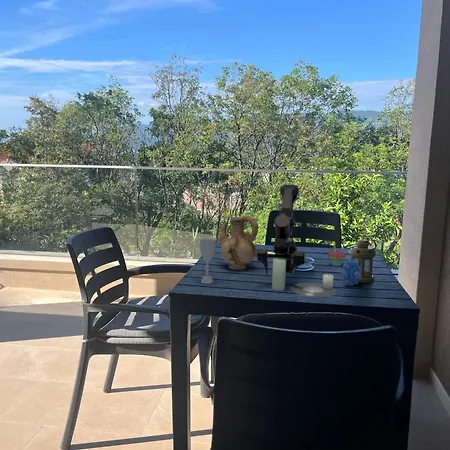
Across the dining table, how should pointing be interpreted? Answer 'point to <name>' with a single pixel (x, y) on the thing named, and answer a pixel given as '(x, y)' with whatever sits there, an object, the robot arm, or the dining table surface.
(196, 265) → the dining table surface
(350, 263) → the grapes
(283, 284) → the pillar candle
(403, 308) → the dining table surface
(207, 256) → the chalice
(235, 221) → the ceramic vessel
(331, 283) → the ivory candle
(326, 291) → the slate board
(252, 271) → the dining table surface
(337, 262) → the cupcake
